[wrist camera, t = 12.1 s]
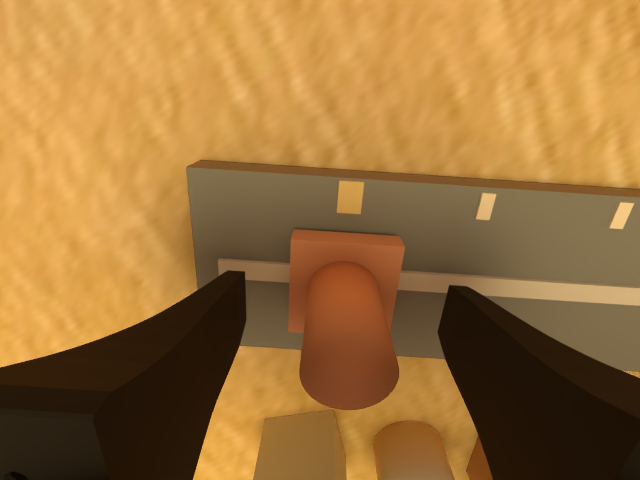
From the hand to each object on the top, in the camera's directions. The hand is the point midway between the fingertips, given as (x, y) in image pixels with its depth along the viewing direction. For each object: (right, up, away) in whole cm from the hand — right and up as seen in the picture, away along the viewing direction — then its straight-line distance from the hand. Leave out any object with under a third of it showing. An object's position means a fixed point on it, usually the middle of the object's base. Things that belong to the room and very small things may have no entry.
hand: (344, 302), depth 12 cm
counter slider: (0, +1, +2) cm, 2 cm away
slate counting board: (+6, +1, +3) cm, 7 cm away
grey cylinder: (+4, -10, +8) cm, 13 cm away
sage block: (-2, -10, +8) cm, 13 cm away
